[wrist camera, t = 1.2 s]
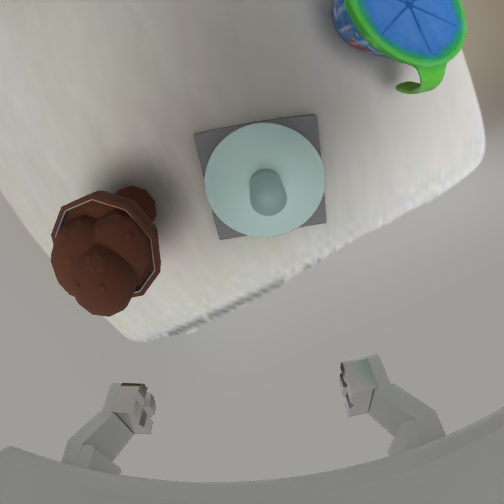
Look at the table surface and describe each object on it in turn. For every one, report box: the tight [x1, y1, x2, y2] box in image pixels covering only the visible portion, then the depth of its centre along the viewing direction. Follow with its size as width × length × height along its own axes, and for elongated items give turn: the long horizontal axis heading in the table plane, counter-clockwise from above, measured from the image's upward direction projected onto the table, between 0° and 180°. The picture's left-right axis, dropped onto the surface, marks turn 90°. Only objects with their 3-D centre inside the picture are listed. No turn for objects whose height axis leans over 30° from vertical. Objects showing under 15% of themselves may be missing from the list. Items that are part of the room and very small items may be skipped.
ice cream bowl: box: [51, 186, 161, 316], centre depth 26 cm, size 11×11×15 cm
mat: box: [194, 114, 326, 240], centre depth 31 cm, size 12×12×1 cm
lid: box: [205, 122, 325, 237], centre depth 28 cm, size 12×12×5 cm
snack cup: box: [332, 0, 466, 94], centre depth 18 cm, size 16×10×10 cm
